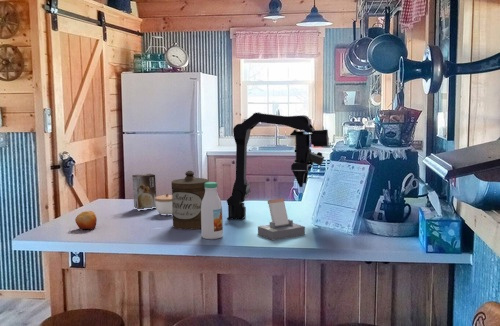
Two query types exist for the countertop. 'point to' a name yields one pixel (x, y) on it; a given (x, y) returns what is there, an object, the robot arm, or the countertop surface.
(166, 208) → the lidded jar
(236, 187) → the robot arm
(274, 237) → the switch unit
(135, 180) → the coffee box
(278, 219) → the lever
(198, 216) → the wooden container
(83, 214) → the fruit
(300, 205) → the countertop surface
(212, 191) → the milk bottle
